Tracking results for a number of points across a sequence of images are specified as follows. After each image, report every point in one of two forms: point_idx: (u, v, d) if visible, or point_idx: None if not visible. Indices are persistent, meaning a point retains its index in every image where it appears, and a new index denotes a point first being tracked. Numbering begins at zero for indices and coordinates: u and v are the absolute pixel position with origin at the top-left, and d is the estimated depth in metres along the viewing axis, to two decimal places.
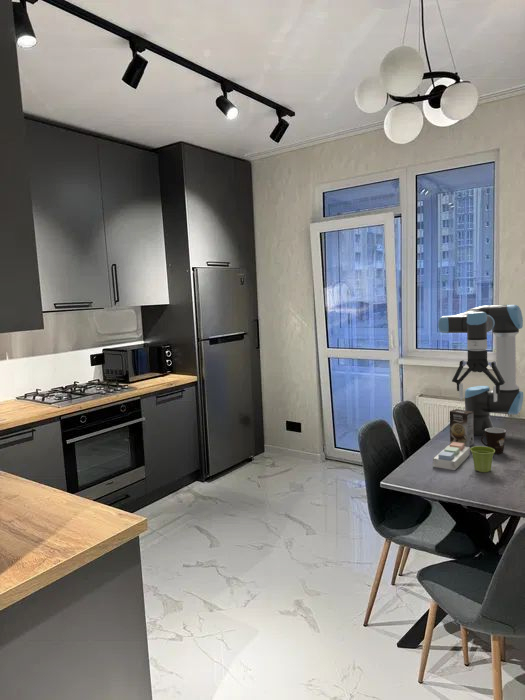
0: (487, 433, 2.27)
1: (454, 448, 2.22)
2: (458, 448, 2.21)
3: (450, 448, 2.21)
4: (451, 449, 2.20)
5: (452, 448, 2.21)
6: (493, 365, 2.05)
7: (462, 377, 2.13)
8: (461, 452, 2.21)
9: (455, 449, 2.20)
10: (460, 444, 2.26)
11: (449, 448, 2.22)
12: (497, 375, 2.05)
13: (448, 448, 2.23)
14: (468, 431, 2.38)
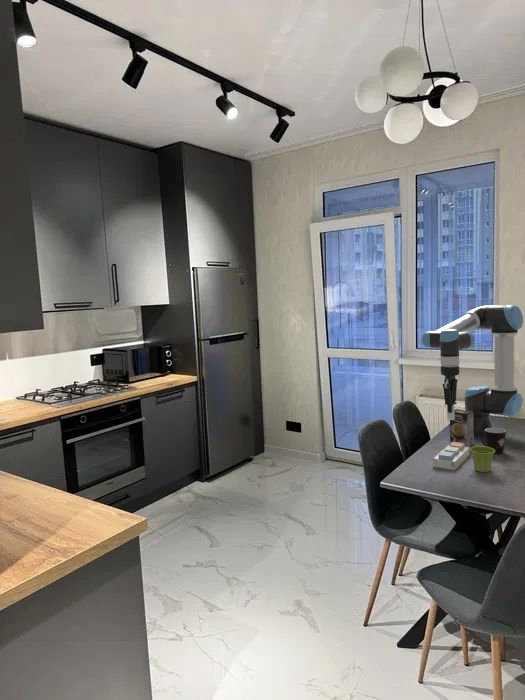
0: (487, 433, 2.27)
1: (454, 448, 2.22)
2: (458, 448, 2.21)
3: (450, 448, 2.21)
4: (451, 449, 2.20)
5: (452, 448, 2.21)
6: None
7: None
8: (461, 452, 2.21)
9: (455, 449, 2.20)
10: (460, 444, 2.26)
11: (449, 448, 2.22)
12: None
13: (448, 448, 2.23)
14: (468, 431, 2.38)
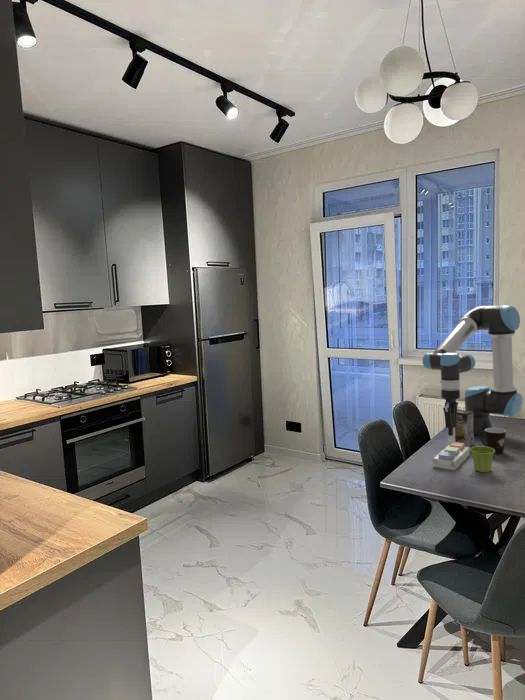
0: (487, 433, 2.27)
1: (454, 448, 2.22)
2: (458, 448, 2.21)
3: (450, 448, 2.21)
4: (451, 449, 2.20)
5: (452, 448, 2.21)
6: None
7: None
8: (461, 452, 2.21)
9: (455, 449, 2.20)
10: (460, 444, 2.26)
11: (449, 448, 2.22)
12: None
13: (448, 448, 2.23)
14: (468, 431, 2.38)
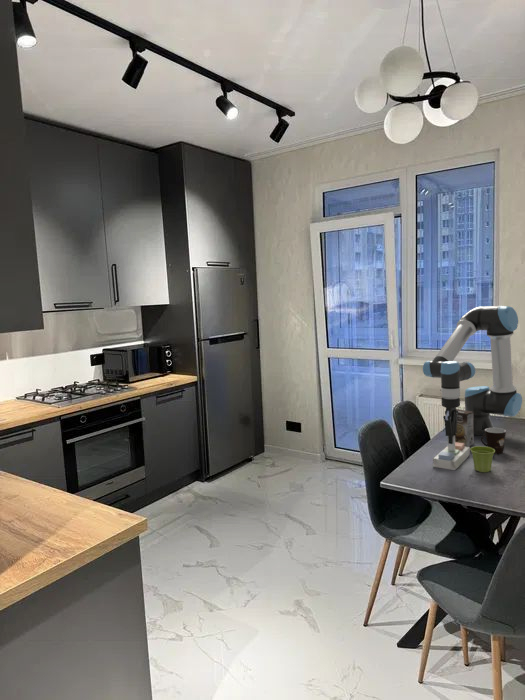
0: (487, 433, 2.27)
1: None
2: (458, 450, 2.21)
3: None
4: (451, 451, 2.21)
5: None
6: None
7: None
8: (461, 452, 2.21)
9: (455, 451, 2.20)
10: (460, 444, 2.26)
11: None
12: None
13: (448, 450, 2.23)
14: (468, 431, 2.38)
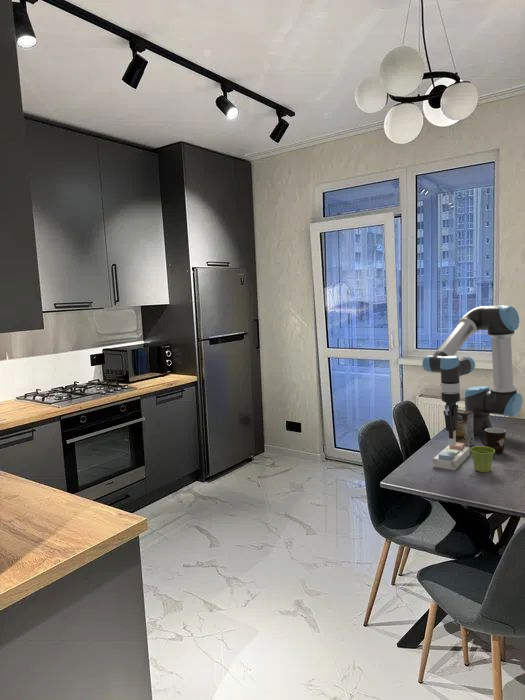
0: (487, 433, 2.27)
1: (454, 450, 2.22)
2: (458, 450, 2.21)
3: (450, 451, 2.22)
4: (451, 451, 2.21)
5: (452, 451, 2.22)
6: None
7: None
8: (461, 452, 2.21)
9: (455, 451, 2.20)
10: (460, 444, 2.26)
11: (449, 450, 2.22)
12: None
13: (448, 450, 2.23)
14: (468, 431, 2.38)
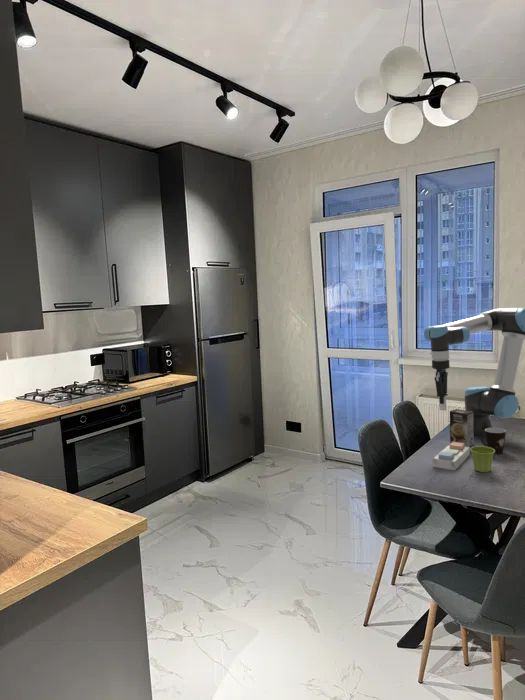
0: (487, 433, 2.27)
1: (454, 450, 2.22)
2: (458, 450, 2.21)
3: (450, 451, 2.22)
4: (451, 451, 2.21)
5: (452, 451, 2.22)
6: None
7: None
8: (461, 452, 2.21)
9: (455, 451, 2.20)
10: (460, 444, 2.26)
11: (449, 450, 2.22)
12: None
13: (448, 450, 2.23)
14: (468, 431, 2.38)
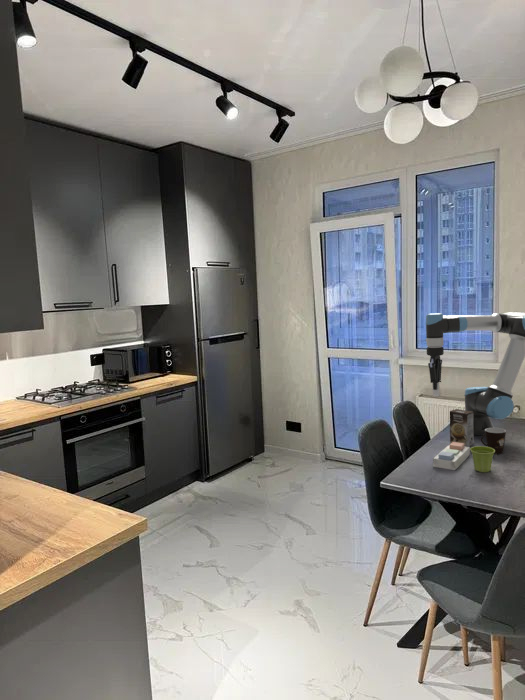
0: (487, 433, 2.27)
1: (454, 450, 2.22)
2: (458, 450, 2.21)
3: (450, 451, 2.22)
4: (451, 451, 2.21)
5: (452, 451, 2.22)
6: None
7: None
8: (461, 452, 2.21)
9: (455, 451, 2.20)
10: (460, 444, 2.26)
11: (449, 450, 2.22)
12: None
13: (448, 450, 2.23)
14: (468, 431, 2.38)
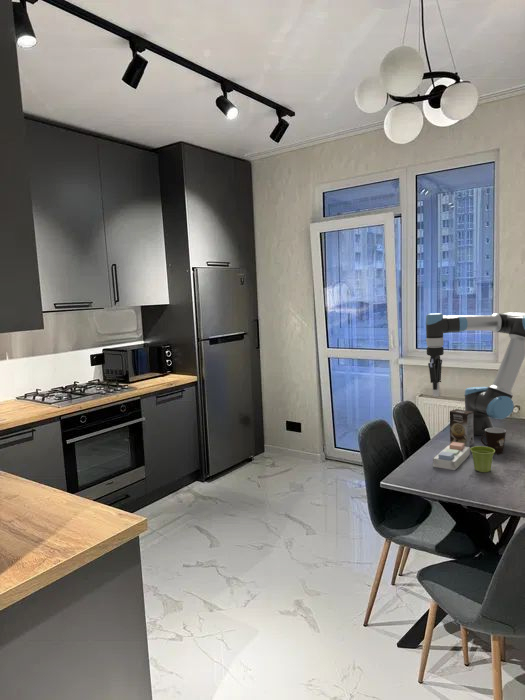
0: (487, 433, 2.27)
1: (454, 450, 2.22)
2: (458, 450, 2.21)
3: (450, 451, 2.22)
4: (451, 451, 2.21)
5: (452, 451, 2.22)
6: None
7: None
8: (461, 452, 2.21)
9: (455, 451, 2.20)
10: (460, 444, 2.26)
11: (449, 450, 2.22)
12: None
13: (448, 450, 2.23)
14: (468, 431, 2.38)
